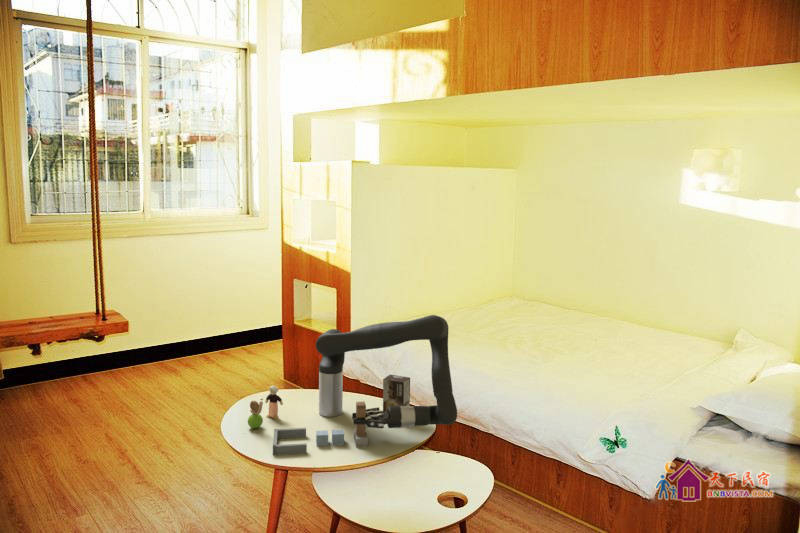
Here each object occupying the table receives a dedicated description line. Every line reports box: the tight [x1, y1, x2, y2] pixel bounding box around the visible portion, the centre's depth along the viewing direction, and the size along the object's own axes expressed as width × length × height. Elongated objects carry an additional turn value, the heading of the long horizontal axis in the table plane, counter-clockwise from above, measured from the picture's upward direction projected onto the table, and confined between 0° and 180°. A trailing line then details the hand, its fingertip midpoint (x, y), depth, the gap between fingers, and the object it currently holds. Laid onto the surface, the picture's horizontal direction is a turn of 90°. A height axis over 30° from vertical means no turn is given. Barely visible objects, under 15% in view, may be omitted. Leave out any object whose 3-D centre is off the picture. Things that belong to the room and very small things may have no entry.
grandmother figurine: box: [264, 385, 284, 420], centre depth 237 cm, size 8×4×13 cm, turn 81°
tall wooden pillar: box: [353, 401, 369, 448], centre depth 217 cm, size 9×4×14 cm, turn 10°
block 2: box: [331, 429, 345, 446], centre depth 216 cm, size 4×4×4 cm
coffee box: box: [382, 374, 411, 411], centre depth 239 cm, size 9×6×16 cm
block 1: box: [315, 429, 329, 447], centre depth 215 cm, size 4×4×4 cm
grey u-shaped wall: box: [272, 427, 308, 456], centre depth 214 cm, size 14×11×3 cm
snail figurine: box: [247, 398, 264, 429], centre depth 226 cm, size 5×6×12 cm
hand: (353, 418), depth 216 cm, fingers open, 4 cm apart
